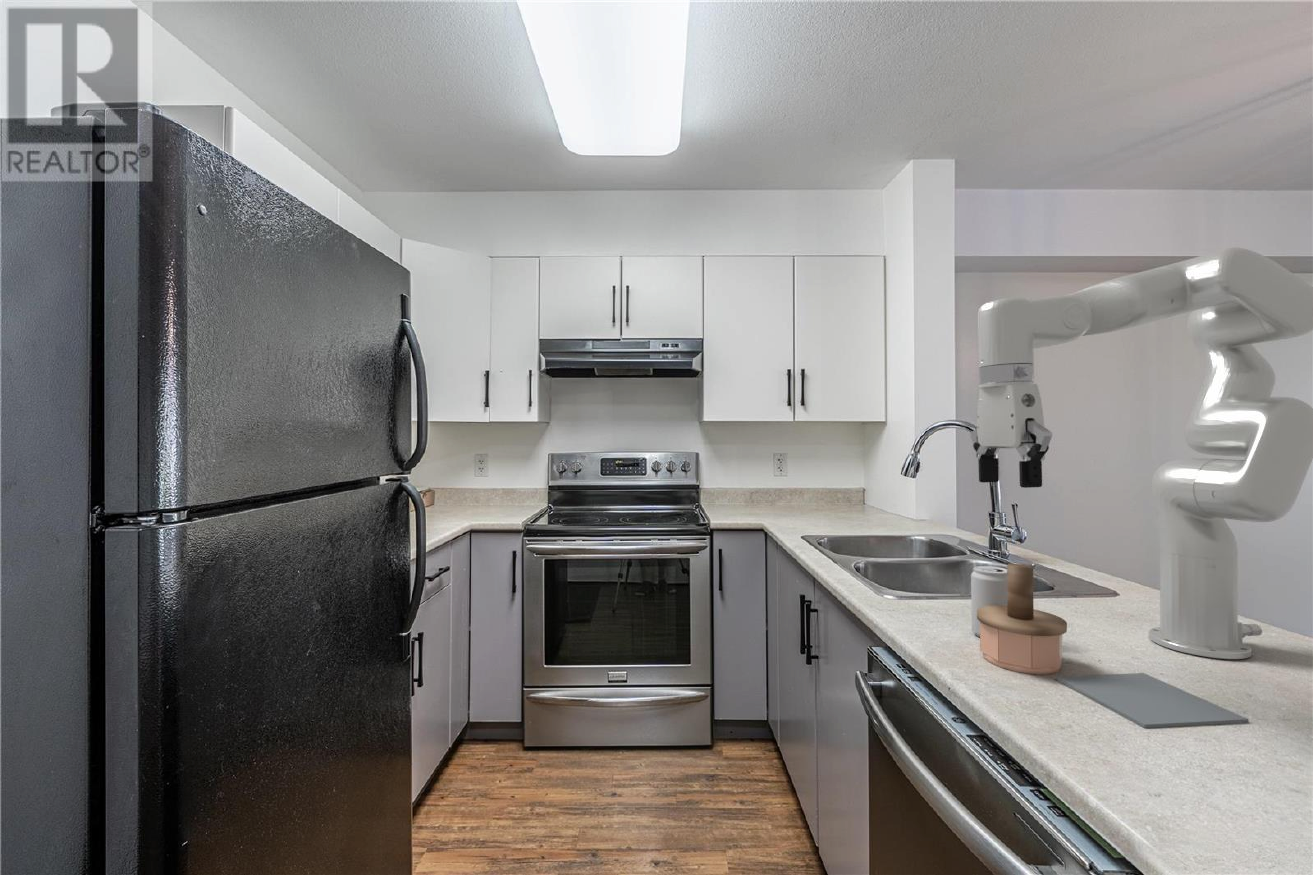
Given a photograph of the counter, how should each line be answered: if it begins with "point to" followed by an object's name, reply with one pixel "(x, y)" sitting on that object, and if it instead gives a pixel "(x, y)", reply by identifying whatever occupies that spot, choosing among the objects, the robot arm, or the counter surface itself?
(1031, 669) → the bowl
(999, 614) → the lid
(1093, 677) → the mat
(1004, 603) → the beverage can
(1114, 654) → the counter surface
